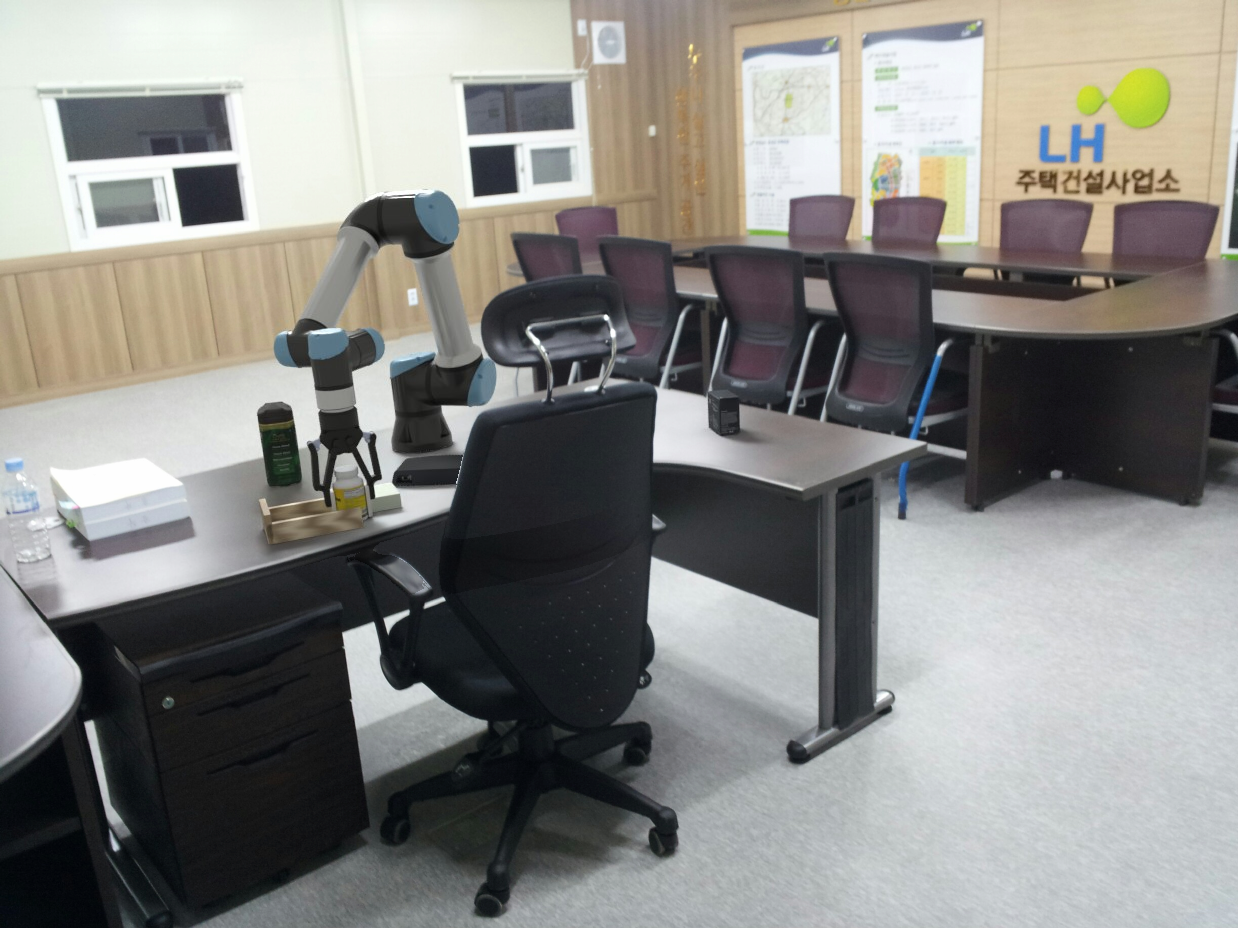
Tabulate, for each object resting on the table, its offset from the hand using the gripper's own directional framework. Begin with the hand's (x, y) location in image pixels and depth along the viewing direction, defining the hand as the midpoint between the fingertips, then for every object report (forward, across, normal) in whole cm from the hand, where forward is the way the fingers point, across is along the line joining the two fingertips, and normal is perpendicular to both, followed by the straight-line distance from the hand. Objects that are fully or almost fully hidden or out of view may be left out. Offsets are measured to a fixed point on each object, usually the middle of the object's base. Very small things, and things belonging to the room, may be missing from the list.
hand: (352, 517), depth 220 cm
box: (+1, -94, -18) cm, 96 cm away
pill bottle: (+1, 0, 0) cm, 1 cm away
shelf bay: (0, +7, 0) cm, 7 cm away
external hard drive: (+1, -23, -20) cm, 30 cm away
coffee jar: (+1, +10, -36) cm, 37 cm away
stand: (+1, -6, -7) cm, 9 cm away
